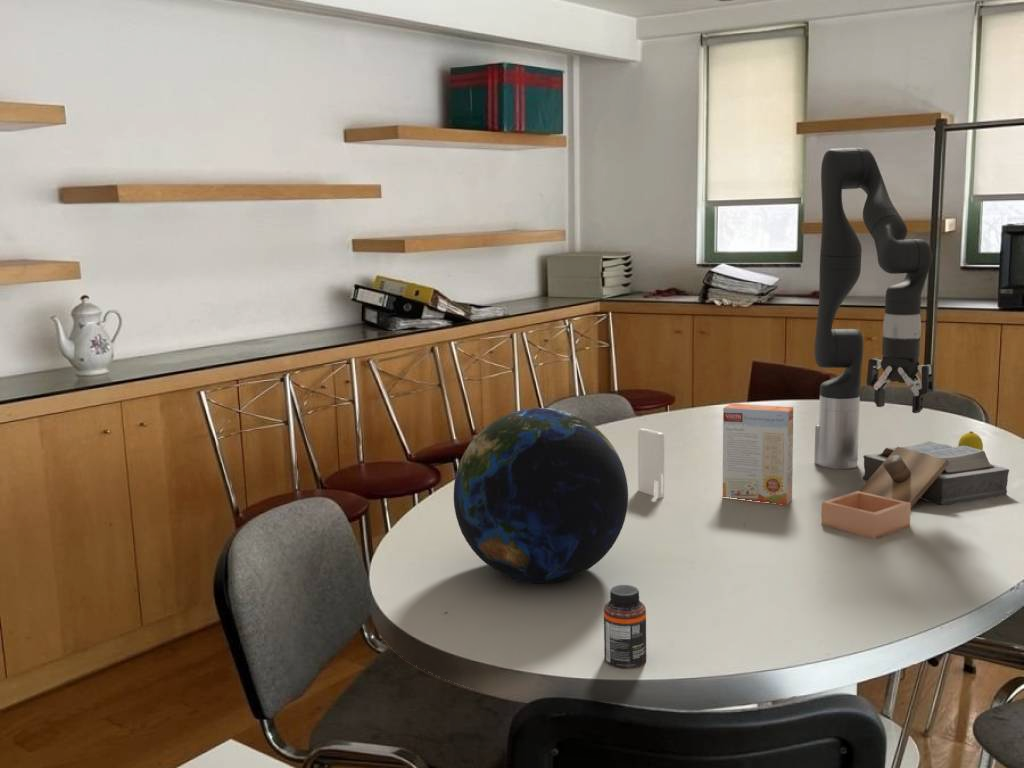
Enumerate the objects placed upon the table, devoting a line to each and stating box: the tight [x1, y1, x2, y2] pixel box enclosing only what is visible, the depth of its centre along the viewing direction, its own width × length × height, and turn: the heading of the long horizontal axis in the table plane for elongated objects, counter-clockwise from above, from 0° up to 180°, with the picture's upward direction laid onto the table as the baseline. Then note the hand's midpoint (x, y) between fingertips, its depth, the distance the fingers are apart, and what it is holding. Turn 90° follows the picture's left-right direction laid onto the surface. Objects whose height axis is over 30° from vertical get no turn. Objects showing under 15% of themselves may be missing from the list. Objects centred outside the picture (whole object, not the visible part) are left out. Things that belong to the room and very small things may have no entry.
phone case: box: [637, 428, 665, 499], centre depth 231 cm, size 7×1×15 cm, turn 33°
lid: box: [858, 446, 949, 509], centre depth 225 cm, size 14×14×6 cm
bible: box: [862, 440, 1010, 506], centre depth 234 cm, size 23×27×10 cm
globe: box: [453, 407, 629, 584], centre depth 182 cm, size 30×30×30 cm
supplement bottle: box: [603, 584, 647, 670], centre depth 148 cm, size 6×6×11 cm
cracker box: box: [722, 403, 794, 506], centre depth 226 cm, size 14×6×21 cm, turn 64°
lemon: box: [957, 430, 984, 451], centre depth 255 cm, size 6×6×8 cm
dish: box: [821, 490, 912, 540], centre depth 208 cm, size 12×12×5 cm
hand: (898, 409), depth 225 cm, fingers open, 8 cm apart
